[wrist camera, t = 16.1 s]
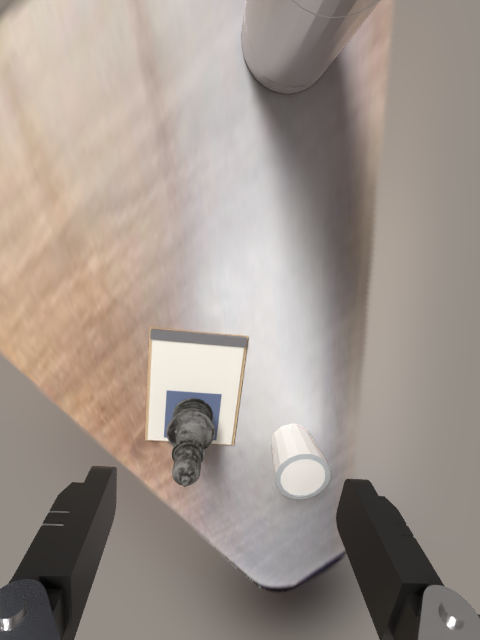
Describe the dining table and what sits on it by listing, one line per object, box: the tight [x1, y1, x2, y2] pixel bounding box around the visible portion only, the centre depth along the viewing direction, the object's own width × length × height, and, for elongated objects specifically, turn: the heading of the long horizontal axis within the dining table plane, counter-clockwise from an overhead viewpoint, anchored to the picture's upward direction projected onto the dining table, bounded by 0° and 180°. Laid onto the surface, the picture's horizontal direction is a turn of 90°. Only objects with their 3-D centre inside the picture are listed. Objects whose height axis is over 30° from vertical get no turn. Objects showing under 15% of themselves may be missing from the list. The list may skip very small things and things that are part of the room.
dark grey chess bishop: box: [166, 398, 215, 487], centre depth 38 cm, size 6×6×12 cm
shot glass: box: [271, 424, 331, 500], centre depth 44 cm, size 7×7×7 cm
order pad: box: [145, 327, 248, 445], centre depth 43 cm, size 16×12×1 cm
